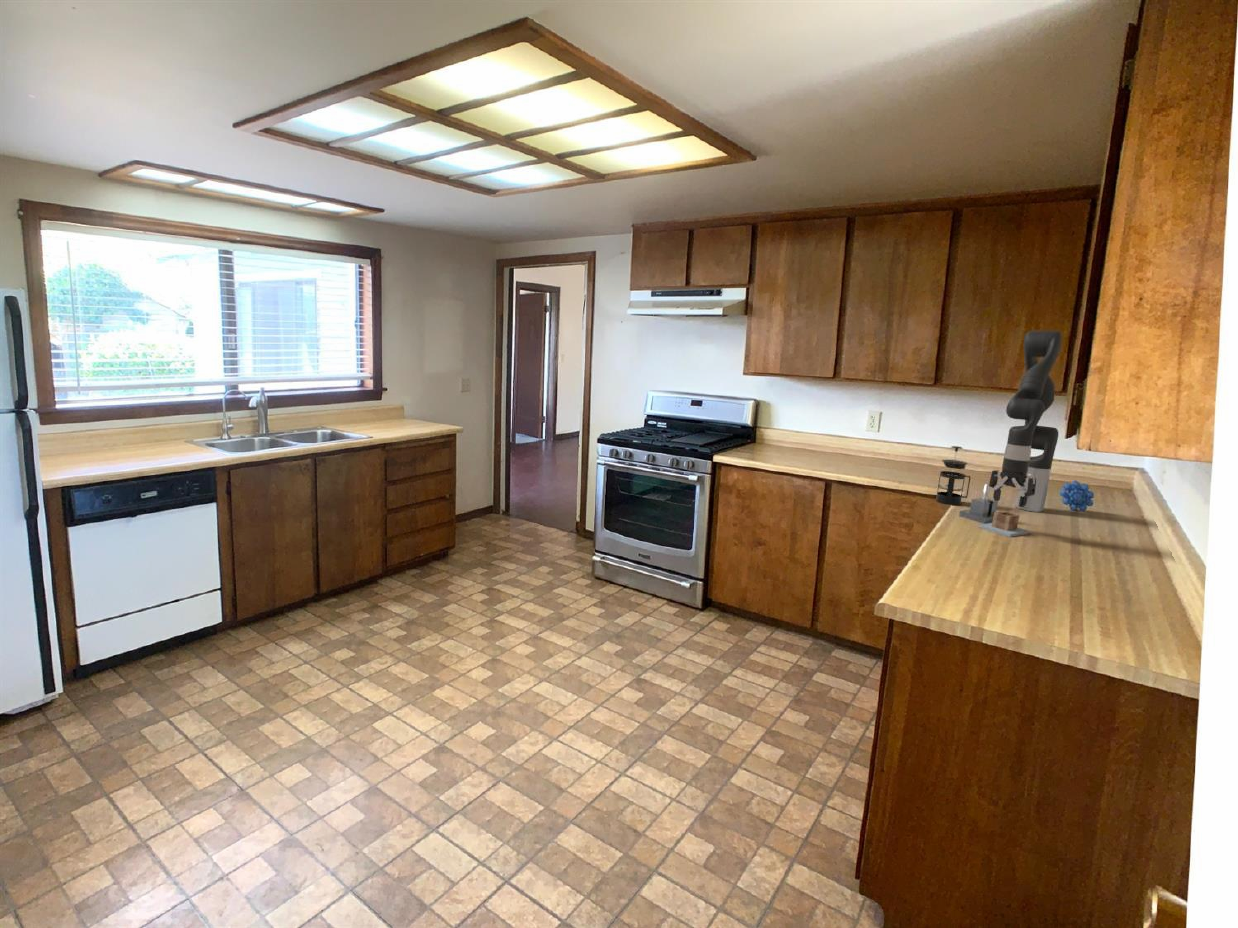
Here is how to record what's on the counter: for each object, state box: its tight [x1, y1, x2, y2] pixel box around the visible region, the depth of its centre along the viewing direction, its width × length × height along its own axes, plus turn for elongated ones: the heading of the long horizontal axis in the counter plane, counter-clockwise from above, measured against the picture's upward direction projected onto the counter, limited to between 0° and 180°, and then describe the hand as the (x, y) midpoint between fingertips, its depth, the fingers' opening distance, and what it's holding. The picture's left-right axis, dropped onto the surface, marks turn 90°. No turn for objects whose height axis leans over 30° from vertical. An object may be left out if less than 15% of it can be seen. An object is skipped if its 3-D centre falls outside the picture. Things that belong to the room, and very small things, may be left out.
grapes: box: [1059, 480, 1095, 512], centre depth 254 cm, size 12×7×12 cm, turn 61°
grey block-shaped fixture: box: [958, 483, 999, 524], centre depth 235 cm, size 12×10×13 cm
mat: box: [978, 523, 1030, 538], centre depth 222 cm, size 11×11×1 cm
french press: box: [934, 445, 971, 506], centre depth 256 cm, size 12×9×23 cm
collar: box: [992, 510, 1020, 531], centre depth 221 cm, size 6×6×5 cm
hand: (1008, 503), depth 220 cm, fingers open, 8 cm apart
